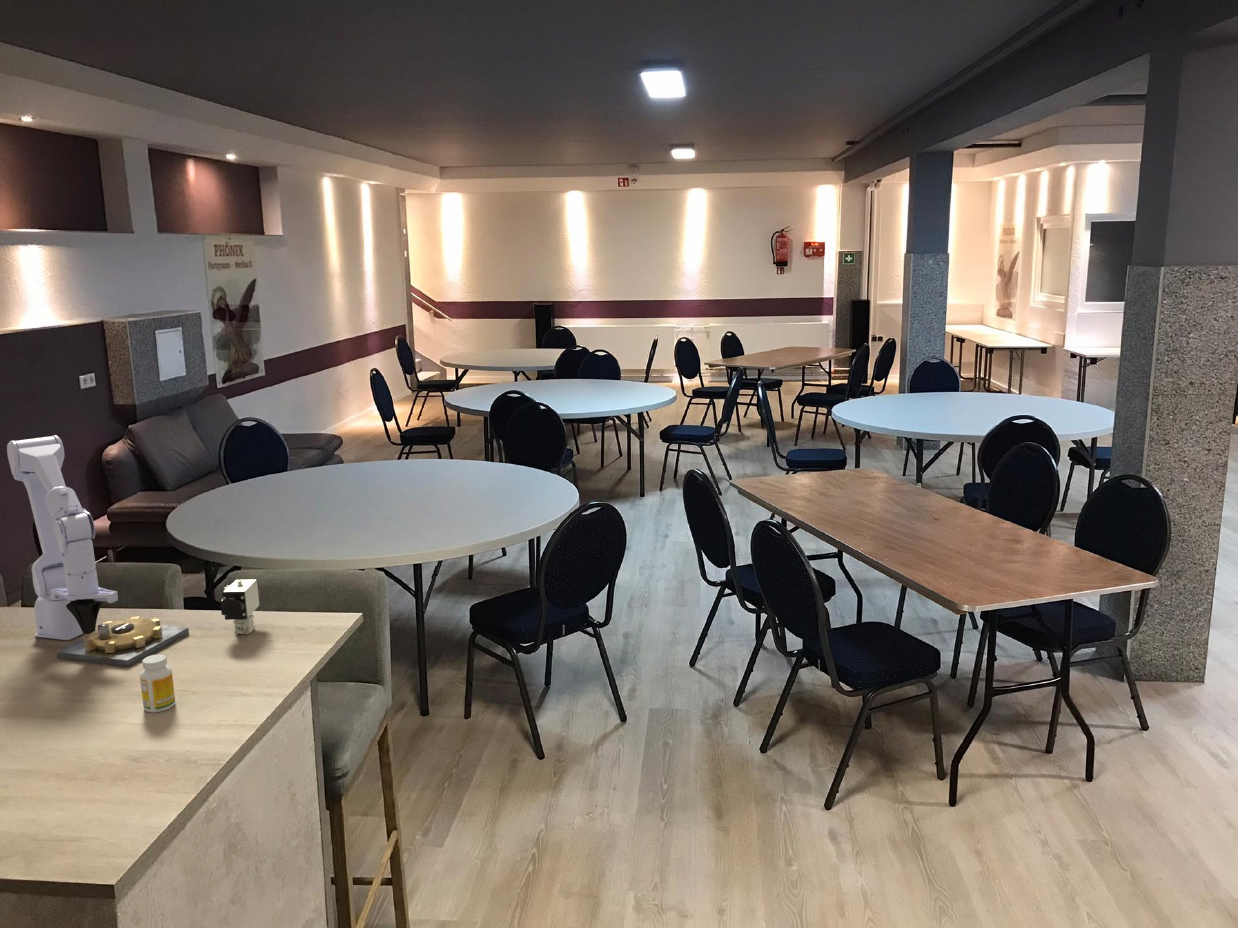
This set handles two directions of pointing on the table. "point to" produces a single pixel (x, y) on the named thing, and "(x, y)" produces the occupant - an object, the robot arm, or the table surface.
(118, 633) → the blocky toothed spur gear
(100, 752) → the table surface
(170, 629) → the cap plate
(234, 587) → the pneumatic valve
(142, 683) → the supplement bottle
